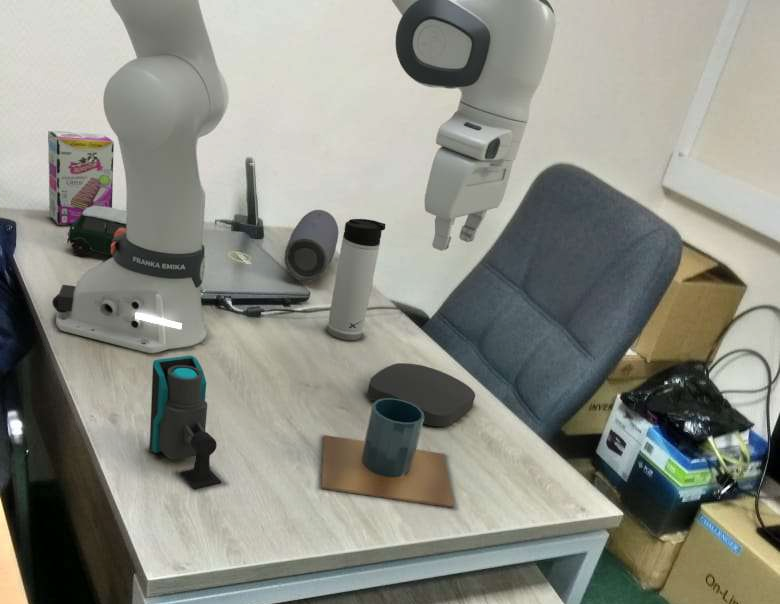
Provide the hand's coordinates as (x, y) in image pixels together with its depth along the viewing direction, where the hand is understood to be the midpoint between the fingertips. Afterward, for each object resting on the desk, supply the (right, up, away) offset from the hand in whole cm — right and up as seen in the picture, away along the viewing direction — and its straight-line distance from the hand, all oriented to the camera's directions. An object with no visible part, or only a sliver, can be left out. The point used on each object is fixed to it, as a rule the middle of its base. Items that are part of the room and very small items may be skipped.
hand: (453, 244), depth 109 cm
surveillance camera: (-33, -31, -10) cm, 46 cm away
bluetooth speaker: (-25, +15, +59) cm, 66 cm away
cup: (-9, -30, 0) cm, 31 cm away
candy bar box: (-71, +23, +54) cm, 92 cm away
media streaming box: (-4, -19, +18) cm, 26 cm away
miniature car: (-59, +12, +43) cm, 74 cm away
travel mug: (-17, -4, +35) cm, 39 cm away
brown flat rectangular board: (-9, -31, -1) cm, 32 cm away
